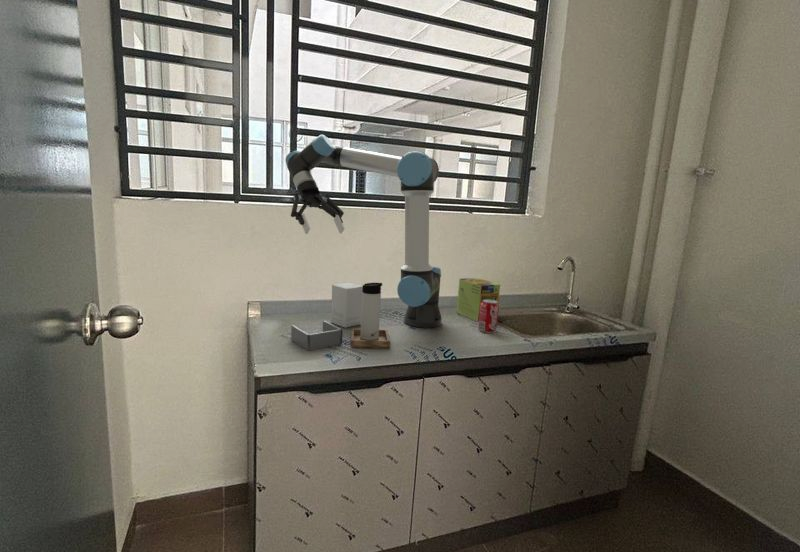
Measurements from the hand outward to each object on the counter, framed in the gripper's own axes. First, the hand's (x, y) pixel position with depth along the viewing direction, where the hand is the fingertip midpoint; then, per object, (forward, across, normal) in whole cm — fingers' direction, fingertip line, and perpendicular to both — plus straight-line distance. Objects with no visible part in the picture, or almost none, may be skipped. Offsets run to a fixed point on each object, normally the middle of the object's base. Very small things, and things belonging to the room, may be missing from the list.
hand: (325, 231), depth 155 cm
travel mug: (+39, -7, -11) cm, 41 cm away
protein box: (+36, -67, -15) cm, 77 cm away
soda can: (+48, -54, -3) cm, 72 cm away
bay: (+33, +9, -17) cm, 38 cm away
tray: (+39, -7, -11) cm, 41 cm away
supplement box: (+24, -12, -27) cm, 38 cm away
